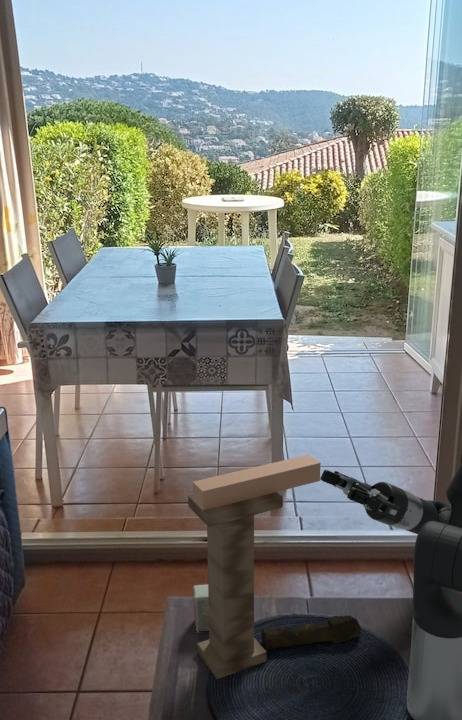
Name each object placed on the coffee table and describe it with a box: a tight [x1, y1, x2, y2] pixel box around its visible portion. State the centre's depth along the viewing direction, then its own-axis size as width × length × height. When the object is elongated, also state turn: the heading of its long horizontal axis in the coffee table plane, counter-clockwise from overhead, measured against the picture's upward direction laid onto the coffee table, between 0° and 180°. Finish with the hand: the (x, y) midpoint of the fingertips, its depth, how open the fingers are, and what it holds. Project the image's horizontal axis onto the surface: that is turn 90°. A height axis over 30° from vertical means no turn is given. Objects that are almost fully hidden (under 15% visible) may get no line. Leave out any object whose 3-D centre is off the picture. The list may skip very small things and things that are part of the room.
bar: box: [191, 454, 322, 511], centre depth 126 cm, size 23×4×4 cm, turn 118°
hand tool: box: [260, 615, 362, 652], centre depth 136 cm, size 19×4×5 cm, turn 98°
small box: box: [193, 583, 209, 632], centre depth 141 cm, size 5×4×8 cm
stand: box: [187, 492, 284, 680], centre depth 129 cm, size 14×8×32 cm, turn 118°
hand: (336, 483), depth 134 cm, fingers open, 8 cm apart
